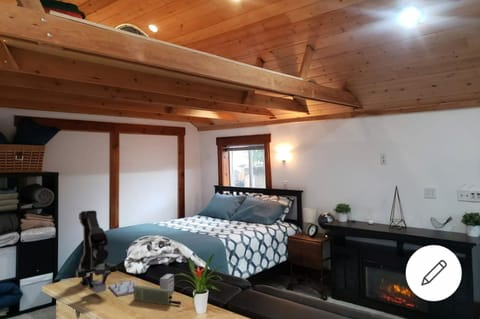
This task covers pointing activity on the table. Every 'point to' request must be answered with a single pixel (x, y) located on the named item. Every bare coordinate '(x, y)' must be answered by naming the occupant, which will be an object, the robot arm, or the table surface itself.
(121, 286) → the pin cradle
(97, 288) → the block
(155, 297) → the handheld radio
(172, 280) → the medicine box
